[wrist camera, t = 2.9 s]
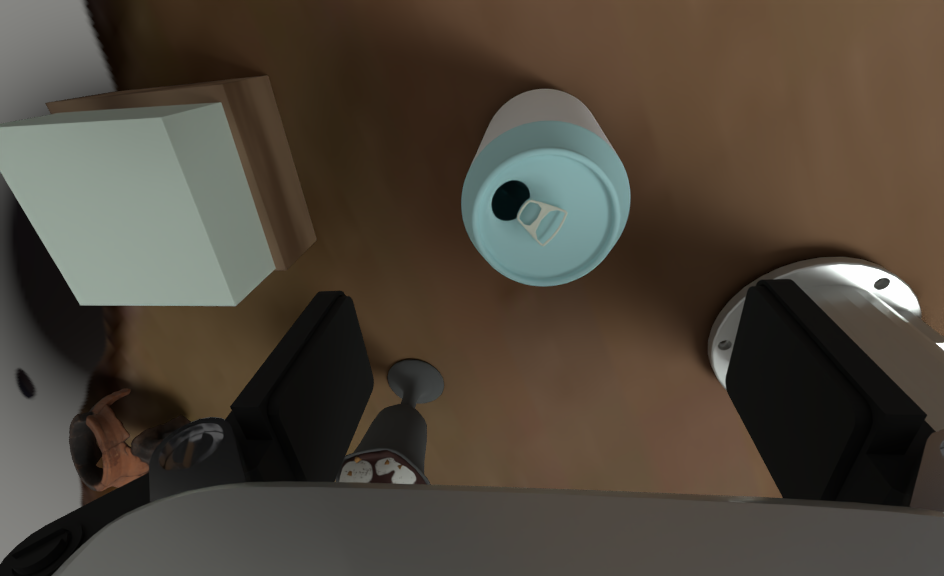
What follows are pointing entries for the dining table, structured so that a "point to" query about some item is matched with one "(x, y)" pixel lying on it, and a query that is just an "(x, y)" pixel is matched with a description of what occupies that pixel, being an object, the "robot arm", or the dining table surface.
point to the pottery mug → (113, 445)
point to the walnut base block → (238, 150)
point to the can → (545, 190)
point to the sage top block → (140, 204)
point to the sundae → (396, 431)
